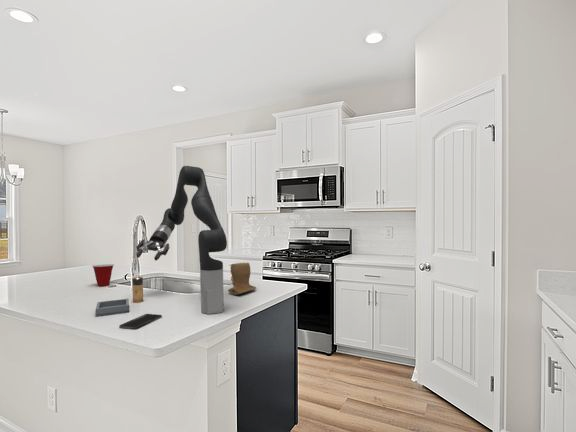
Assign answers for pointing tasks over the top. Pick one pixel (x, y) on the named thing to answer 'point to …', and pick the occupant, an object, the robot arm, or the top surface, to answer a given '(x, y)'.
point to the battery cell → (137, 289)
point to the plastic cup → (103, 274)
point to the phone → (140, 321)
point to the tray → (112, 307)
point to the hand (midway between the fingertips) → (146, 257)
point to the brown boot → (240, 278)
